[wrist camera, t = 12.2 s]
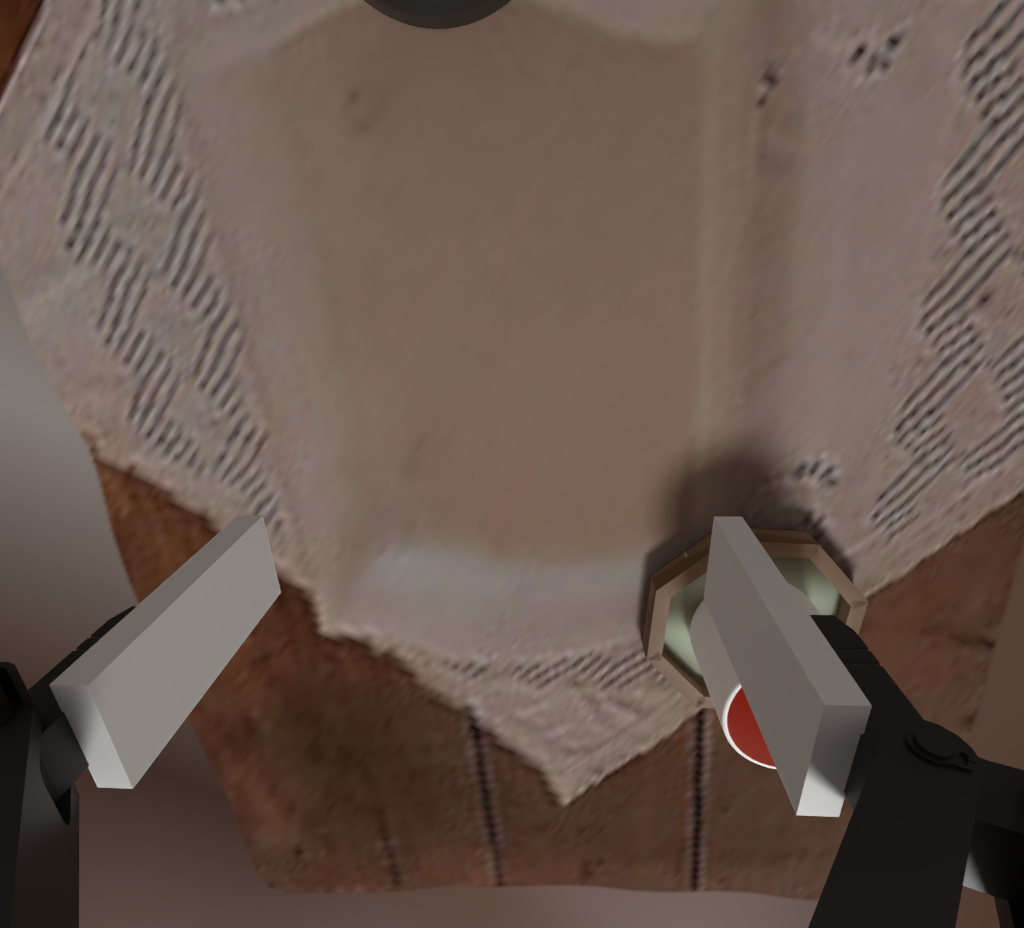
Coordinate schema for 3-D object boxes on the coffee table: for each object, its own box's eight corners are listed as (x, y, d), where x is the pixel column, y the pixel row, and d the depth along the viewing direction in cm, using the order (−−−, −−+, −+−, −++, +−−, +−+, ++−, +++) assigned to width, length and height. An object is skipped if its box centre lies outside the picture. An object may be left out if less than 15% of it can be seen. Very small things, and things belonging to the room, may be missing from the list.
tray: (657, 524, 43) (663, 537, 41) (868, 533, 43) (885, 547, 40) (636, 685, 49) (640, 704, 47) (821, 696, 48) (833, 715, 46)
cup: (730, 550, 43) (782, 632, 33) (835, 599, 44) (914, 692, 35) (663, 640, 46) (693, 738, 37) (762, 684, 47) (816, 790, 38)
